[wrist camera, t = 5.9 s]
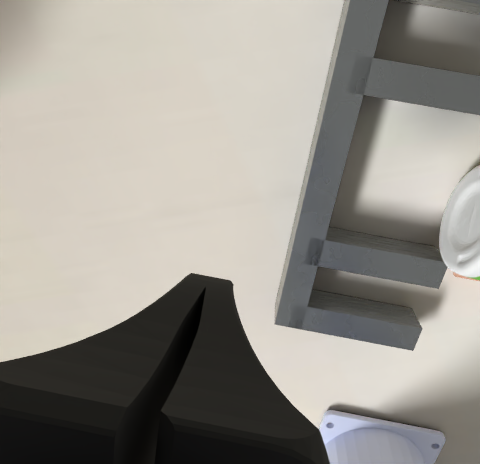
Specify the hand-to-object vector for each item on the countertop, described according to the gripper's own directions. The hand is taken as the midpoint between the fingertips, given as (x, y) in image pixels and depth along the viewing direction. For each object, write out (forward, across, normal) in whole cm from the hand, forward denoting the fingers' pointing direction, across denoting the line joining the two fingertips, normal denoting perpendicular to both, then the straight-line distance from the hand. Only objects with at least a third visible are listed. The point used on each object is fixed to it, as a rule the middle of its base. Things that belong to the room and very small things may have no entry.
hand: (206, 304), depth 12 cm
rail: (+10, -8, -3) cm, 13 cm away
